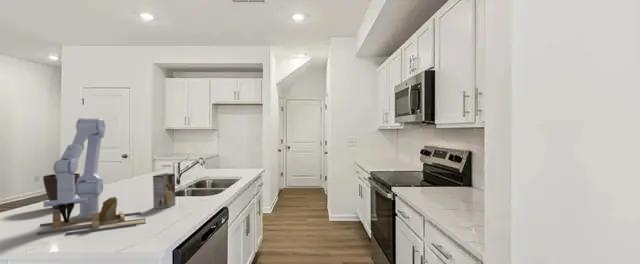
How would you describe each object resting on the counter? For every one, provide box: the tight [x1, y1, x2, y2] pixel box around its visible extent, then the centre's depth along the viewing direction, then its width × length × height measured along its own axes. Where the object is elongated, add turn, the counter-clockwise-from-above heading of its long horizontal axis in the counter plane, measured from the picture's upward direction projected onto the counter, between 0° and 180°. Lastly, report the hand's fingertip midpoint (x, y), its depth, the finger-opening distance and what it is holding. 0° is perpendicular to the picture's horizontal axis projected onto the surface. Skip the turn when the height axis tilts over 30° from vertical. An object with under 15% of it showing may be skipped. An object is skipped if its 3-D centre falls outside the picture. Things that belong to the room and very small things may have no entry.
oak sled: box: [50, 210, 126, 231], centre depth 150 cm, size 12×25×6 cm, turn 123°
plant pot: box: [42, 172, 81, 210], centre depth 178 cm, size 15×15×16 cm
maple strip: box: [91, 210, 147, 229], centre depth 148 cm, size 4×19×6 cm, turn 124°
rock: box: [99, 196, 118, 222], centre depth 153 cm, size 11×9×10 cm
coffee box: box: [152, 172, 176, 209], centre depth 182 cm, size 9×6×16 cm
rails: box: [36, 211, 146, 236], centre depth 148 cm, size 20×37×1 cm, turn 123°
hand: (66, 222), depth 146 cm, fingers closed
